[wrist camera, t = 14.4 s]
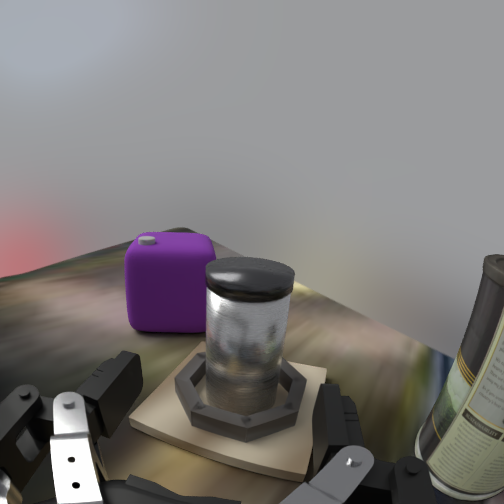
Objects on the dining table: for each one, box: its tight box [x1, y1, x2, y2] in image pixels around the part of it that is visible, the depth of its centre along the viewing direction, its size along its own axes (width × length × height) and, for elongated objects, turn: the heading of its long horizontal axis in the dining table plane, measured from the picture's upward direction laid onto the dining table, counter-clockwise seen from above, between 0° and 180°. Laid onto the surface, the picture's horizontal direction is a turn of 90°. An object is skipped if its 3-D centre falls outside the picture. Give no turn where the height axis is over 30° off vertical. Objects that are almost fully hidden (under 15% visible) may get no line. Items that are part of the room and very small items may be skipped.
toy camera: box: [125, 232, 216, 333], centre depth 35 cm, size 11×14×10 cm
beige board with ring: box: [129, 341, 327, 482], centre depth 21 cm, size 12×12×2 cm
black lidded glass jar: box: [205, 257, 295, 416], centre depth 20 cm, size 5×5×10 cm
